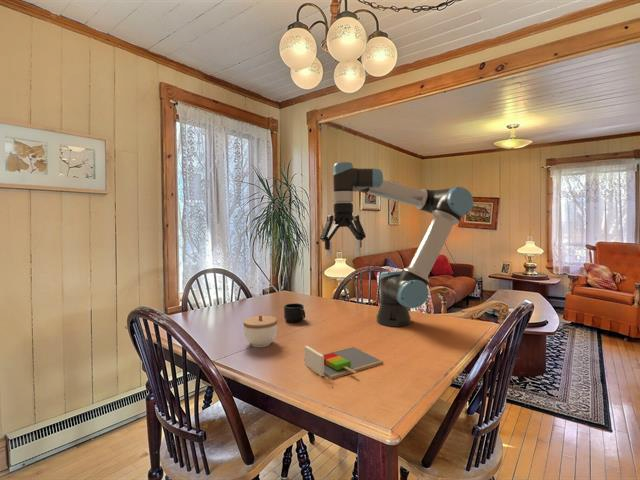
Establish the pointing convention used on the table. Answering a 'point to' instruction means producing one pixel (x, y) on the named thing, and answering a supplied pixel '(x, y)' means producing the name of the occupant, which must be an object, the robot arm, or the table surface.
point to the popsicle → (337, 362)
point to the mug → (294, 312)
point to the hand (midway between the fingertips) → (343, 257)
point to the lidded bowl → (260, 330)
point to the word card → (314, 360)
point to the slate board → (356, 358)
